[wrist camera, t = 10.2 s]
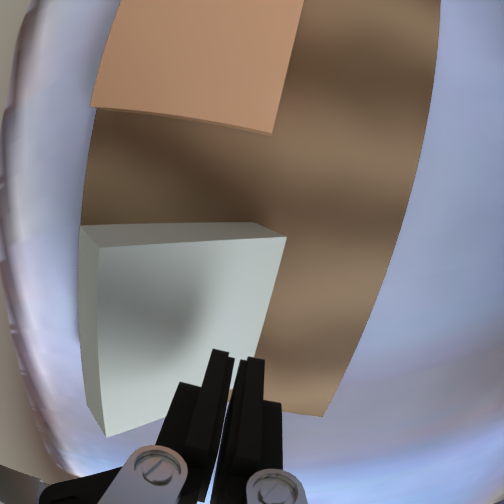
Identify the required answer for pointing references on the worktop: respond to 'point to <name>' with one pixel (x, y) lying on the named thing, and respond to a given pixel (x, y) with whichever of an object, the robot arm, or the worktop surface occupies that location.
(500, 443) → the worktop surface
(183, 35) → the terracotta tile
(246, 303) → the grey-blue tile
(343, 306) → the walnut board
